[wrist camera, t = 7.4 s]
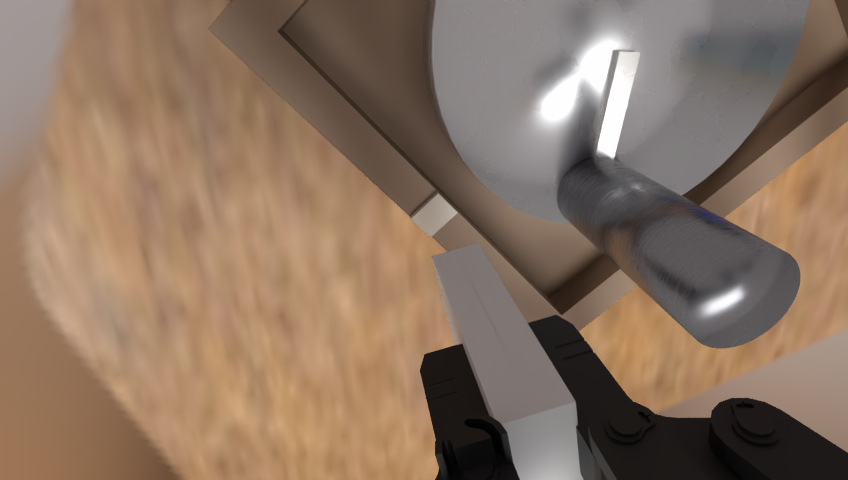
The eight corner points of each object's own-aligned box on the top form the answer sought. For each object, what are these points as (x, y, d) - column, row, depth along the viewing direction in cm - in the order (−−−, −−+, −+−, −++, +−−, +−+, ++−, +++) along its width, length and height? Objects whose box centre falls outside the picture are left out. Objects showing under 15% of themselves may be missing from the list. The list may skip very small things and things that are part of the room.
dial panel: (661, -477, 14) (763, -630, 10) (848, 49, 22) (937, 56, 19) (230, 25, 18) (205, 29, 14) (529, 310, 26) (556, 353, 23)
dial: (438, -225, 14) (609, -638, 5) (826, -161, 16) (1402, -364, 7) (412, 207, 20) (470, 363, 11) (698, 207, 22) (932, 335, 14)
